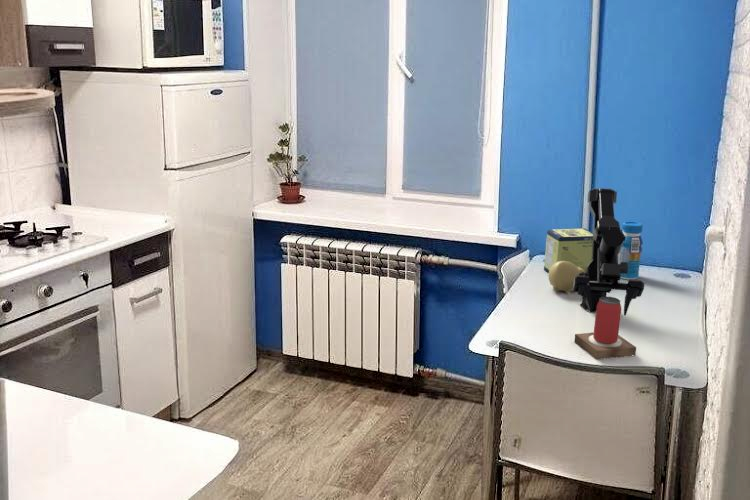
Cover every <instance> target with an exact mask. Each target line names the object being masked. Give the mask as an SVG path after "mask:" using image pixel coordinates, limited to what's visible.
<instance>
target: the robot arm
mask: <svg viewBox="0 0 750 500" xmlns="http://www.w3.org/2000/svg"><path fill="white" fill-rule="evenodd" d="M587 192H588V193H587V203H589V205H588V208H589V210H590V213H591V214H592V216H593V228H592V233H593V242H592V261H591V262H590V264H589V265H588V267H587V268H586V272H584V275H583V276H580V275H577V276H576V277H575V279H574V283H573V289H572V292H575V293H577V295H579V296H581V303H580V304H579V306H581V307H582V308H583V309H585V310H586V311H588V312H589V314H590V313H592V312H596V308H597V304H598V302H599V299H600V298H601V297H607V293H608V294H610V293H611V292H612V290H616V291H617V290H618V291H625V293H626V294H625V296H624V305H623V315H624V316H626V315H627V313H628V310H629V307H630V305H631V302H632V300H636V299H637V298H639V297H641V296H642V294H643V292H644V290H645V282H644V281H643V279H629V280H628V281H627V283H626V282H625V283H624V282H623V283H622V282H619V281H621V278H620V276H621V274H627V273H628V262H621V263H620V264H618V254H619V253H620V250H621V247H622V244H623V242H624V241H625V235H624V234H623V233H624V232H622V229H621V226H620V225H621V224H620V222H619V221H618V220H617V219H616V218H615V209H614V205H615V204H617V196H618V192H617V190H616V191H615V189H612V188H605V187H603V188H602V187H600V188H592V189H590V190H589V191H587Z"/></svg>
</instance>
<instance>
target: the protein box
mask: <svg viewBox="0 0 750 500" xmlns="http://www.w3.org/2000/svg"><path fill="white" fill-rule="evenodd" d="M545 240H546V242H545V254H544V263H543V264H544V266H543V270H544V271H545V272H547V273H548V274H549V270H550V268H551V267H552V265H553V264H555V263H556V262H559V261H568V262H571V263H573V264H574V265H575V266H577V267H580V268H582V269H583V270H584V272H586V268H587V267H588V265H589V264H590V262H591V261H592V242H593V231H590V230H588V229H587V228H561V229H560V228H559V229H547V233H546V239H545Z"/></svg>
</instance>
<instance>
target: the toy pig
mask: <svg viewBox="0 0 750 500" xmlns="http://www.w3.org/2000/svg"><path fill="white" fill-rule="evenodd" d="M577 275H580V276H583V275H584V270H583V269H582V268H580V267H577V266H575V265H574V264H573V263H571V262H568V261H559V262H556V263H555V264H553V265H552V267H551V268H550V270H549V273H548V276H547V277H548V281H549V283H550V285H551V286H552V288H553V290H555V291H556V290H559V291H563V292H566V294H571V291H573V283H574V279H575V277H576V276H577Z"/></svg>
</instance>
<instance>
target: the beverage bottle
mask: <svg viewBox="0 0 750 500" xmlns="http://www.w3.org/2000/svg"><path fill="white" fill-rule="evenodd" d="M621 227H622V229H621V230H622V232H623V234H624V235H625V241H624V242H623V244H622V247H621V250H620V253H619V254H618V264H620V263H621V262H628V273H627V274H621V276H620V280H621V279H622V280H628V281H629V279H634V280H638V279H639V276H640V275H639V274H640V273H639V272H640V264H641V258H642V257H641V256H642V252H643V247H642V246H643V244H644V243H643V239H642V236H641V235H642V232H643V223H641V222H639V221H638V222H637V221H631V220H630V221H624V222H623V223H622V226H621Z"/></svg>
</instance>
